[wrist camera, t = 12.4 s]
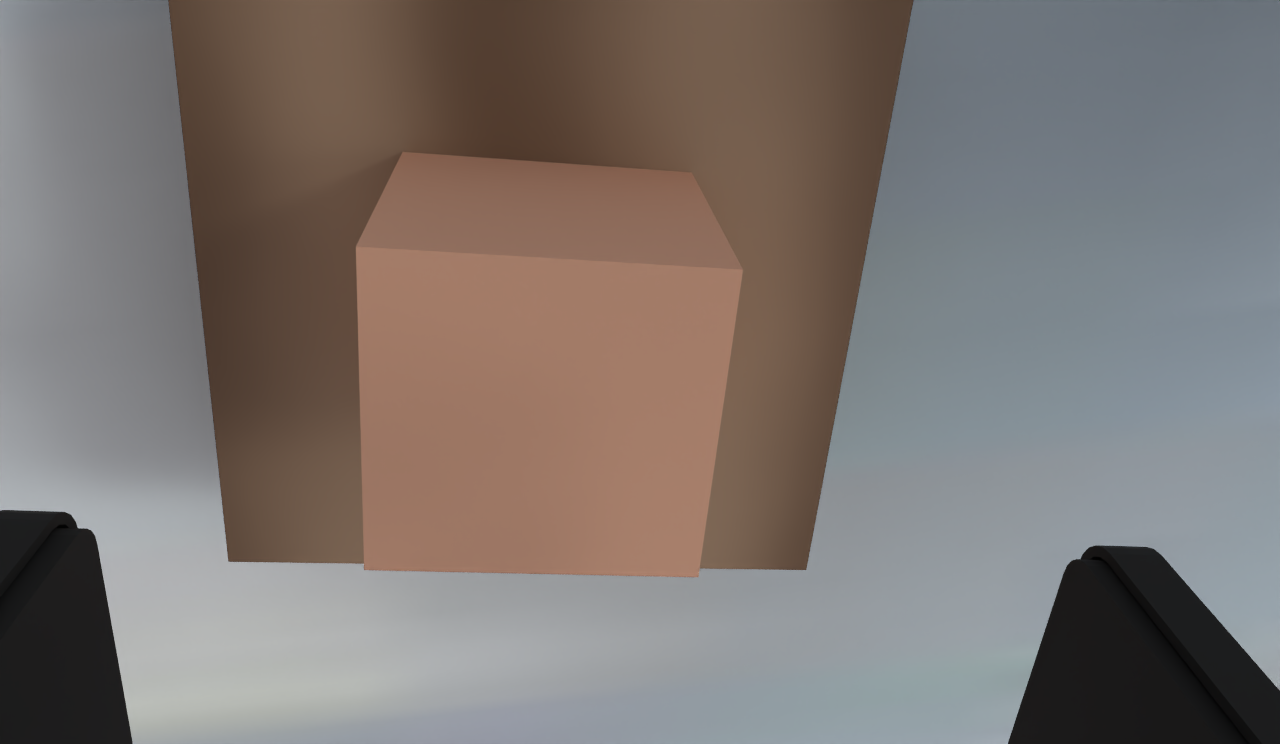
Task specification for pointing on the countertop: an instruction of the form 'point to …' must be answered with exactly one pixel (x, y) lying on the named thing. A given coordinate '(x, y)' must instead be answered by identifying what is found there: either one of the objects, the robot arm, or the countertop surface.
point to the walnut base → (531, 131)
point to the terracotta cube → (541, 367)
